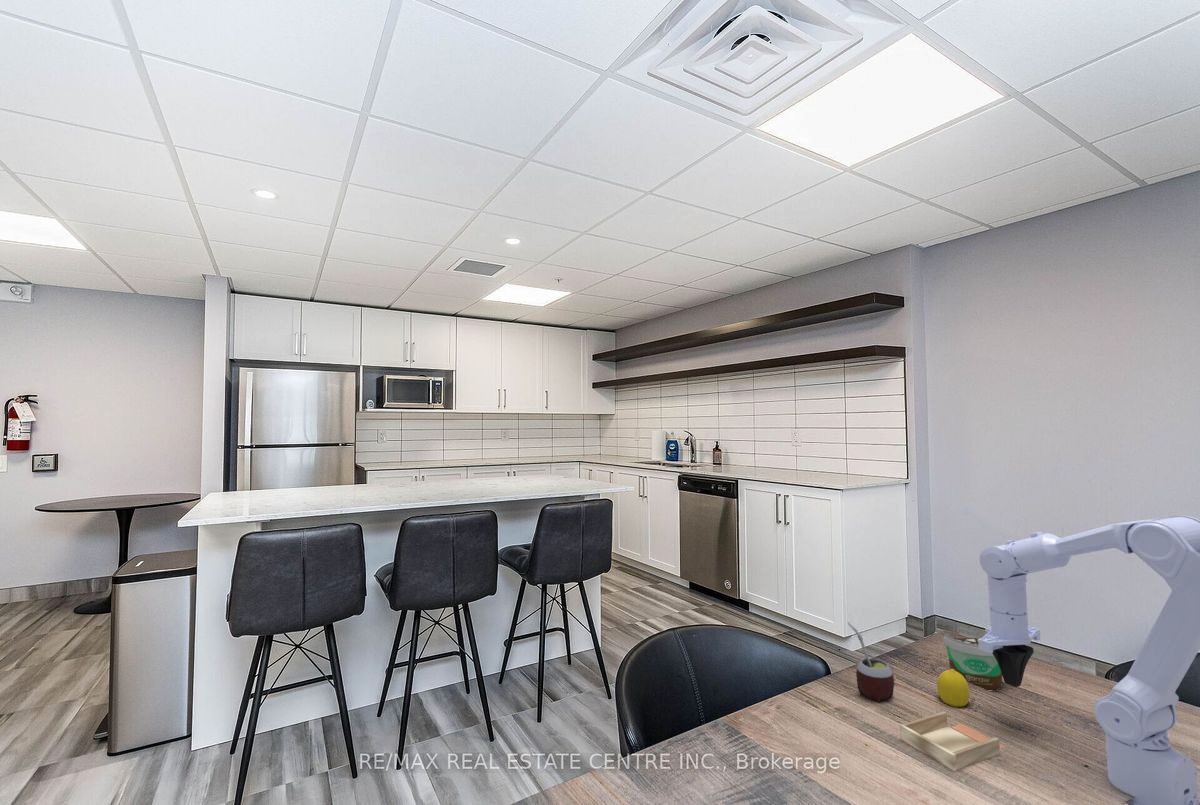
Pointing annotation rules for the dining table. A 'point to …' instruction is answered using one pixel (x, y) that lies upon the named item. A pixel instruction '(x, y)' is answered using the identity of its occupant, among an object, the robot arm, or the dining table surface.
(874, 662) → the mate gourd
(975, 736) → the panel
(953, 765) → the cream shallow tray
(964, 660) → the food container
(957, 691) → the lemon
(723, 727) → the dining table surface
